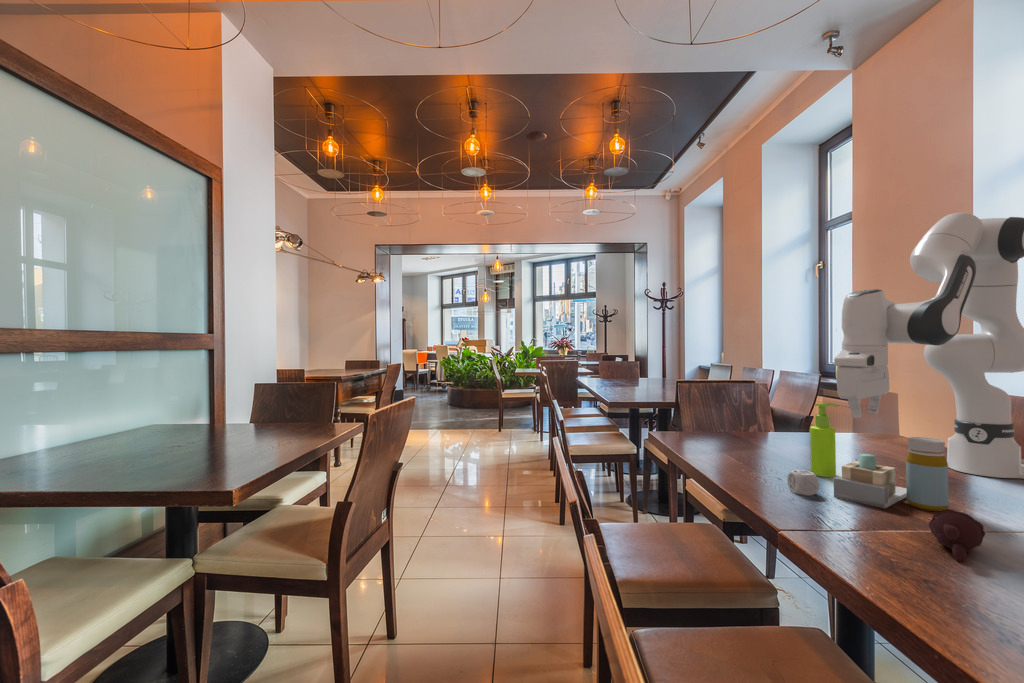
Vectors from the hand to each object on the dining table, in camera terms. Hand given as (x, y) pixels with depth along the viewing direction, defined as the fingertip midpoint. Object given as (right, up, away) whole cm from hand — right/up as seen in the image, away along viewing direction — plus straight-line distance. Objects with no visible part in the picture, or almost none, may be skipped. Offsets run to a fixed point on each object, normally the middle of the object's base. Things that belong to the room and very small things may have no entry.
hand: (865, 415), depth 113 cm
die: (-13, -20, +4) cm, 24 cm away
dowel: (0, -19, -1) cm, 19 cm away
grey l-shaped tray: (+3, -20, +1) cm, 20 cm away
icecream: (-5, -20, -29) cm, 35 cm away
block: (0, -18, -1) cm, 18 cm away
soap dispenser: (+3, -20, +19) cm, 28 cm away
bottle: (+8, -20, -7) cm, 22 cm away
